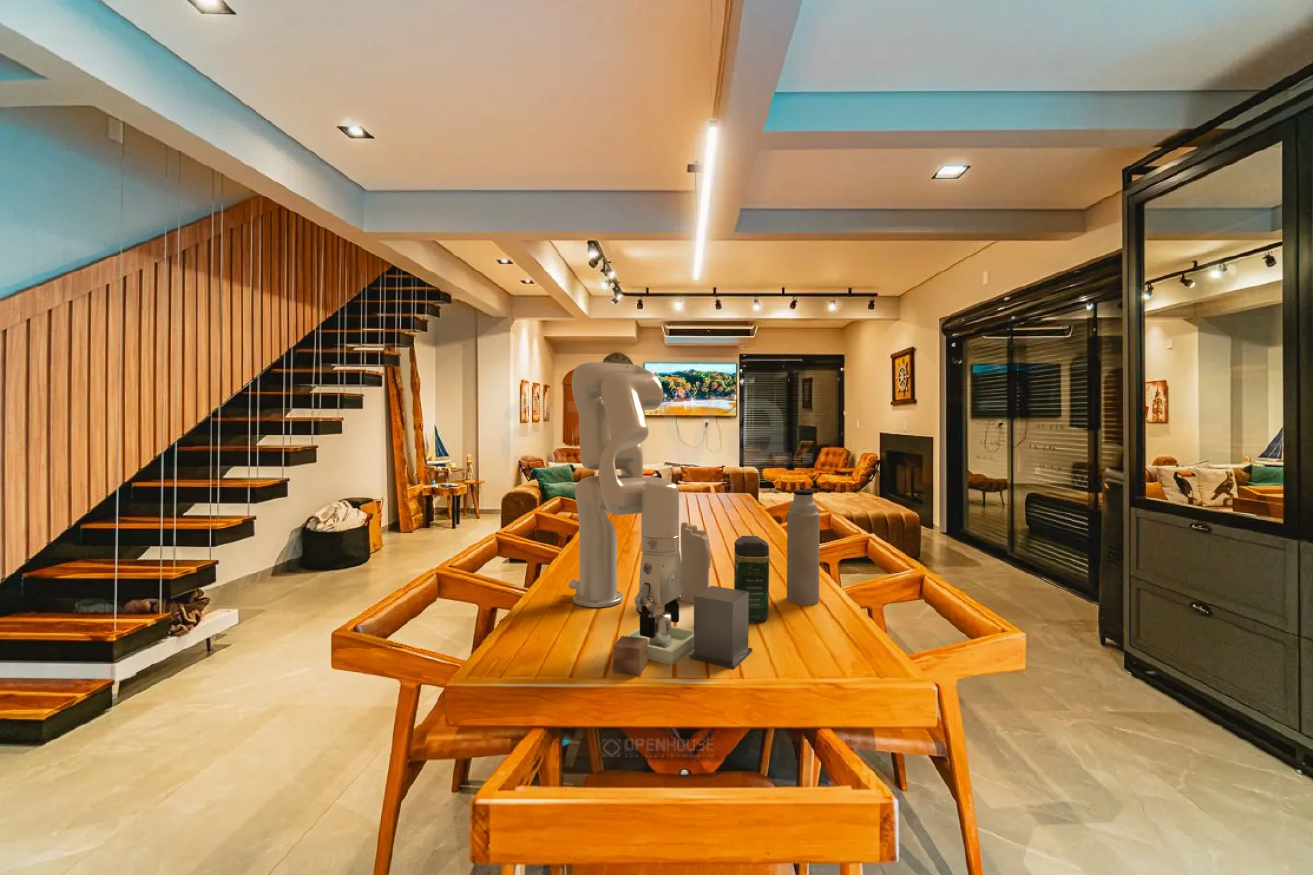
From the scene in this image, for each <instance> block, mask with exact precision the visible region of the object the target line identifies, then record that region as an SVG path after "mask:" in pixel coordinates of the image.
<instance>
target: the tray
mask: <svg viewBox="0 0 1313 875" xmlns="http://www.w3.org/2000/svg"><path fill="white" fill-rule="evenodd" d="M625 636H628V637H638V638H647V661H648V660H649V661H652V662H653V661H654V662H657V663H661V664H664V665H665V664H666V665H669V666H674V664H676V663H677V662H679V660H681V659H682V658H684V657H685V656H686V655H687V654H689V653H691V652H692V651H694V629H689V628H684V627H679V626H673V625H671V645H670V646H669V647H666V648H661V647H657V646H652V645H649V637H644V636H641V635H640V627H638V628H637V629H634V630H633V631H631V632H629V633H628V634H626V635H625Z"/></svg>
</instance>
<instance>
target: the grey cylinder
mask: <svg viewBox="0 0 1313 875" xmlns="http://www.w3.org/2000/svg"><path fill="white" fill-rule="evenodd" d="M653 617H655V637H654V638H649V645H652V646H657V647H661V648H666V647H669V646H670V645H671V626H672V622H671V613H670V612H667V611H664V610H655V612H654V615H653Z"/></svg>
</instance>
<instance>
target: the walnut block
mask: <svg viewBox="0 0 1313 875" xmlns="http://www.w3.org/2000/svg"><path fill="white" fill-rule="evenodd" d="M612 654H613V655H612V665H613V667H612V670H613V671H612V673H613V674H622V675H630V676H639V677H640V676H641V675H642V673H643V672H644V670H646V668H647V666H648V659H647V638H638V637H628V636H626V635H621V636H620V638H619V639H617V641H616V642H615V643H614V644H613V646H612Z"/></svg>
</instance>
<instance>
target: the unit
mask: <svg viewBox="0 0 1313 875" xmlns="http://www.w3.org/2000/svg"><path fill="white" fill-rule="evenodd" d="M748 611H749V591H742V590H736V589H734V588H729V587H722V586H715V585H709V587H708V588H707V589H705V590H703V591H701V592H700V593H698V594H696V595H695V596H694V603H693V630H694V649H693V652H692V653H691V654H689V659H690V660H695V661H699V662H703V663H708V664H712V665H717V666H720V667H721V666H722V667H725V668H730V669H733V670H735V669H736V668H737V666H739V665H740V664H741V663H742V662H743V661H744V660H745V659H746V658H747V657H748V656H749V655H750V654H751V653H752V652H753V648H751V647H749V622H748Z"/></svg>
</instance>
